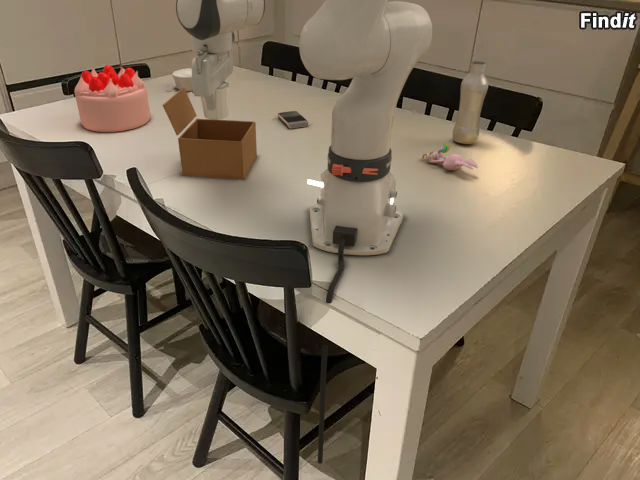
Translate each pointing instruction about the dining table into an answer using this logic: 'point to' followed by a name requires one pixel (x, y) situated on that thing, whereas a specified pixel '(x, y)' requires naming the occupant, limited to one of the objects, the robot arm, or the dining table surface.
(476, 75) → the plastic bottle
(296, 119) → the cell phone
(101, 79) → the cake
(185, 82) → the ramekin
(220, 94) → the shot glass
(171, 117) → the flap
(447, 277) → the dining table surface
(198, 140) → the carton
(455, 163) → the pink elongated figure
